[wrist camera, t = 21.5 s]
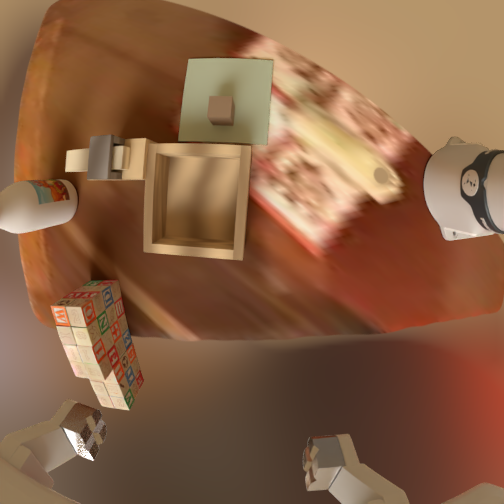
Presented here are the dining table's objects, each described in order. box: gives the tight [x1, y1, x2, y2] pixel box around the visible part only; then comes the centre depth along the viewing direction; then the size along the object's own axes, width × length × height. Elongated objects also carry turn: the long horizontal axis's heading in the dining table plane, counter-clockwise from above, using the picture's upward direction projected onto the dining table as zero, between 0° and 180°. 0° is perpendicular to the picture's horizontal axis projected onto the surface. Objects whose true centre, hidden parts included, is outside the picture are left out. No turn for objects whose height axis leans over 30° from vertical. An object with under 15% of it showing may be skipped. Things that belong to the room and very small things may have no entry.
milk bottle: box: [0, 179, 78, 233], centre depth 30 cm, size 8×8×20 cm
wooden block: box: [65, 146, 130, 172], centre depth 30 cm, size 9×3×2 cm, turn 86°
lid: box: [178, 58, 273, 145], centre depth 34 cm, size 13×14×6 cm
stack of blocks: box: [51, 280, 144, 410], centre depth 40 cm, size 21×6×12 cm, turn 4°
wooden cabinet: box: [87, 135, 252, 260], centre depth 34 cm, size 22×15×12 cm
